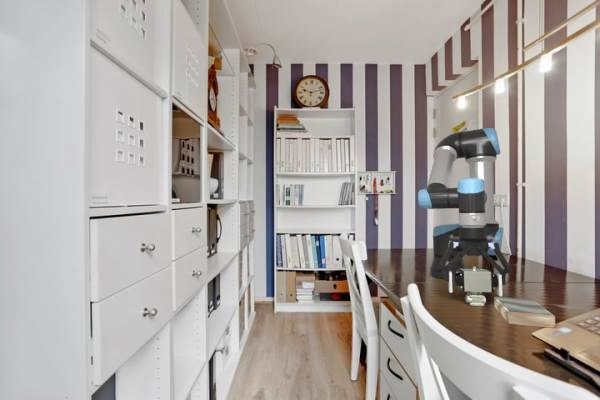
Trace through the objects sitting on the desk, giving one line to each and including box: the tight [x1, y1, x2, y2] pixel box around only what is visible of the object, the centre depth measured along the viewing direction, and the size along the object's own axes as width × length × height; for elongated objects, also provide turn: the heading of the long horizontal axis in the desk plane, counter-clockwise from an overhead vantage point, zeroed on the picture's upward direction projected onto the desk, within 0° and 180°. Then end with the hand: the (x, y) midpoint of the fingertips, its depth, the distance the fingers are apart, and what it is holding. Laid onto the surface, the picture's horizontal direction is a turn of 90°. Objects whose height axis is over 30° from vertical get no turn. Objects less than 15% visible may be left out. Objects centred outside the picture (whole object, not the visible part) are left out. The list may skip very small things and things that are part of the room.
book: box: [493, 296, 556, 328], centre depth 83 cm, size 14×10×3 cm
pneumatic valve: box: [452, 266, 498, 307], centre depth 94 cm, size 6×12×12 cm, turn 78°
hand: (474, 293), depth 94 cm, fingers open, 13 cm apart
